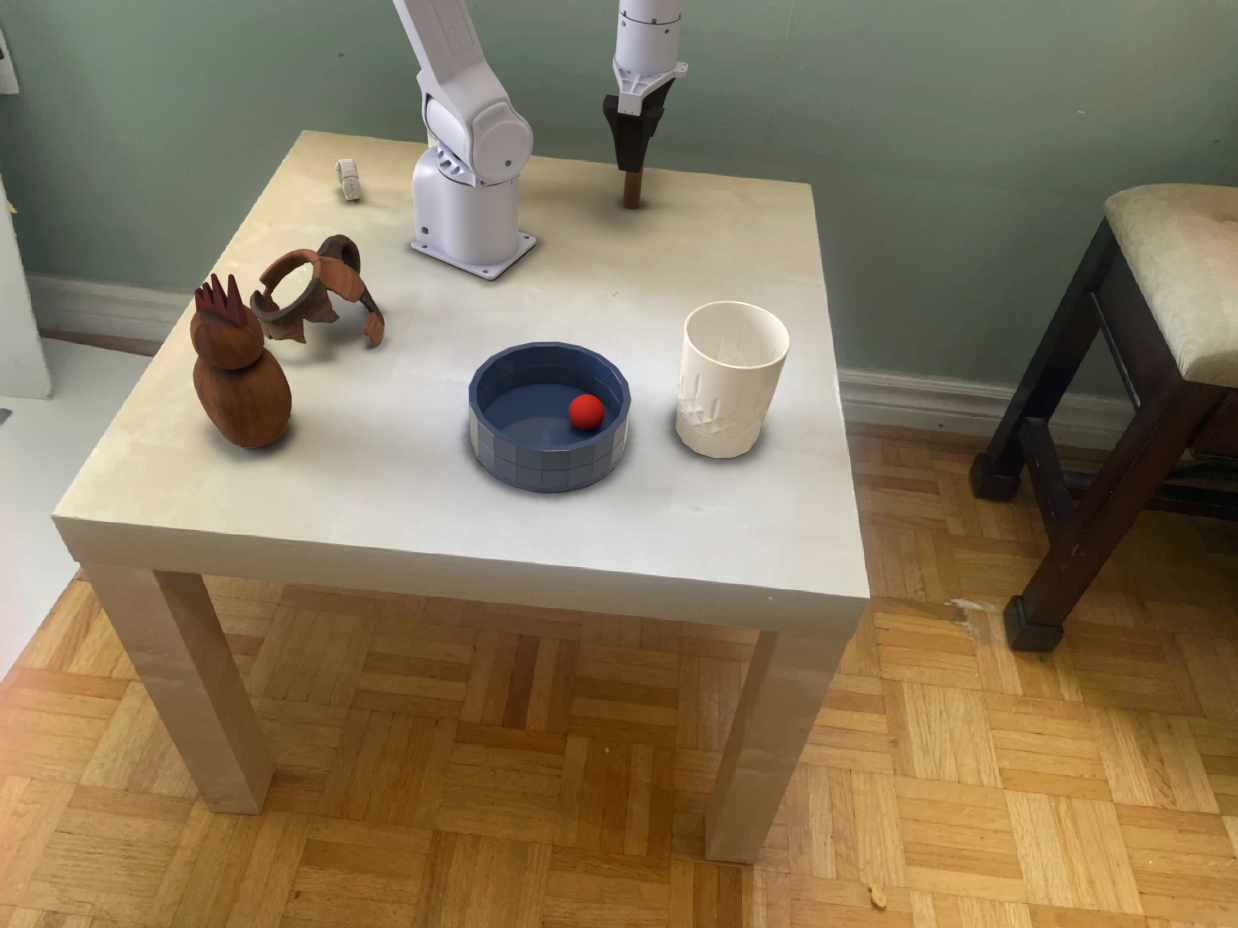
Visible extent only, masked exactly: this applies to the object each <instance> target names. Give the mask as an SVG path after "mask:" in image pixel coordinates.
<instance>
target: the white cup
mask: <svg viewBox="0 0 1238 928" xmlns="http://www.w3.org/2000/svg"><path fill="white" fill-rule="evenodd" d="M682 334H683V335H682V344H681V353H680V360H679V368H678V381H677V394H676V400H677V411H676V421H675V431H676V433H677V435H678V436H679V438H680V440H681V442H682V443H683V444H684V445H685V446H687V447H688V448H689V449H690V450H692V451H694V452H695V453H697V454H700V455H703V456H706V457H709V458H713V459H733V458H736V457H738V456H741V455H743V454H745V453H747V452H749V451H750V450H751V449H752V447H753V446H754V445H755V444H756V442H757V441H758V438H759V435H760V432H761V429H762V426H763V423H764V421H765V419H766V417H767V415H768V413H769V410H770V406H771V403H772V401H773V399H774V396H775V393H776V391H777V387H778V384H779V381H780V378H781V375H782V372H783V369H784V366H785V363H786V360H787V358H788V355H789V351H790V348H791V343H792V339H791V335H790V332H789V330H788V328H787V326H786V324H784V323H783V321H782V320H781V319H780V318H779V317H778V316H777V315H775V314H773V313H772V312H770V311H768V310H767V309H764V308H763V307H760V306H758V305H755V304H752V303H748V302H744V301H738V300H719V301H712V302H708V303H705V304H703V305H700V306H698V307H696V308H694V310H692V311H691V312H690V313H689V314H688V316H687V317H686V319H685V321H684V325H683V333H682Z"/></svg>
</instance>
